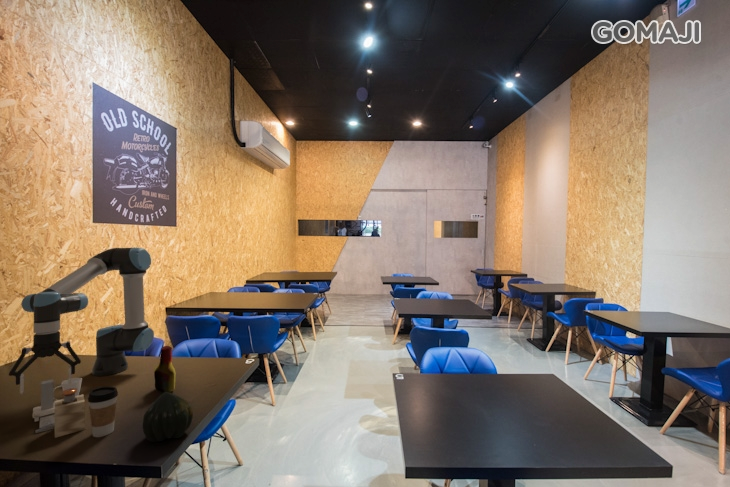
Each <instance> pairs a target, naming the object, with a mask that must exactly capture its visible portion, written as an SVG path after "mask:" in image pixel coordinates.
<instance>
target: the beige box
mask: <svg viewBox="0 0 730 487" xmlns="http://www.w3.org/2000/svg"><path fill="white" fill-rule="evenodd" d="M84 396H85V395H84V394H83V393H82V394H79V395H78V396H75V402H72V403H68V404H64V398H62V399H58V400H54V403H55V428H54V439H56V438H59V437H63V436H66V435H69V434H70V435H71V434H73V433H77V432H80V431H83V430H84V431H85V430H86V405H85V404H86V403H85V402H86V401H85V397H84Z"/></svg>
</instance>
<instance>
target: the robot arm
mask: <svg viewBox="0 0 730 487" xmlns="http://www.w3.org/2000/svg"><path fill="white" fill-rule="evenodd" d="M151 265H152V257H151V254H150V253H149V252H148V250H146V249H145V248H142V247H113V248H112V247H111V248H108V249H106V250H103V251H101V252H99V253H97V254H95V255H93V256H92V257H90V258H89V259H87V261H86V263H85V264H83V265H81V266H80V267H78V268H77V269H75V270H74V271H73V272H70V273H69V274H68V275H66V276H64V277H63V278H61V279H60V280H58V281H56V282H55V283H53V284H52V285H50V286H49V287H47V288H45V289H44V290H43V291H40V292H37V293H30V294H27V295H25V296H24V297H23V299H22V300H21V308H22V309H23V311H25V312H27V313H33V333H34V335H33V342H32V344H33V345H32V347H22V349H21V351H20V352H21V353H20V356H19V357H18V358H17V360H16V361H15V363H14V365H13V366H12V368H10V371H9V372H8V376H9V377H13V376H14V378H15V385H16V386H18V385H19V394H20V395H23V394H24V372H25V371H26V370H27V369H28V368H29V367H30V366H31V365H32V364H33V363H34V362H35V361H36V360H37V359H38V358H43V359H44V358H47V357H48V358H49V357H53V356H56V357H58V358H60V359H61V360H63V362H65V363H67V365H68V379H67V380H68V382H69V384H71V378H72V375H75V373H76V365H79V364H81V363H82V360H81V359H80V357H79V356H78V354H77V353H76V352H75V350H74V349H73V347H72V346H71V341H68V340H67V341H65V342H63V343H61V331H60V329H61V315H64V314H69V313H74V312H76V313H77V312H79V311H82V310H84V309H86V307H88V304H89V299H88V296H87V295H86V294H85V293H83V292H76V291H78V290H80V289H81V288H82V287H83V286H85V285H87V283H89V282H91V281H92V280H93V279H95V278H96V277H98V276H101V275H105V274H106V273H108V272H112V271H118V272H119V276H121V277H122V279H123V281H122V282H123V306H124V308H123V309H124V323H123V324H117V325H116V324H115V325H109V326H105V327H102V328H99V329H98V330H97V331H96V336H95V348H96V349H95V350H96V351H95V352H96V357H95V358H96V359H95V361H94V363H93V367H92V370H91V371H92V372H91V374H92V375H93V376H96V377H98V376H99V377H100V376H101V377H102V376H104V377H105V376H110V375H115V374H119V373H121V372H124V371H126V370H127V369H128V368H129V363H128V360H127V358H126V355H125V352H136V353H137V352H143V351H145V350H147V349H149V347H151V345H152V344H153V341H154V337H155V331H154V330H153V329H152V328H151V327H149V323H148V322H147V321H146V318H145V296H144V295H145V292H144V291H145V290H144V276H145V275H146V274H147V270H148V269H150V268H151ZM74 292H75V293H74ZM62 347H63V348H64V349H67V351H68V353H69V354H70V355H71V357H72V358H73V359H74V361H73V360H72V359H71V358H70V357H68V356H67V355H65V354H64V353H62V351H60V349H61V348H62ZM30 352H32V353H33V355H32V356H31V357H30V358H29V360H27V362H25V363H24V364H23V365H22V366H21V368H19V366H20V365H21V363H22V362H23V360H24V358H25V356H26V355H29V353H30ZM18 368H19V369H18ZM17 369H18V370H17Z"/></svg>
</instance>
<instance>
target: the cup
mask: <svg viewBox="0 0 730 487" xmlns="http://www.w3.org/2000/svg"><path fill="white" fill-rule="evenodd" d="M82 382H83V378H82V377H71V384H69V382H68V379H64V380H62V381H61V384H60V385H58V386H55V387H53V390H54V391H55V390H57V389H58V388H62V392H63V391H64V390H67V389H71V388H76V389H77V392H76V393H75V396H78V395H80V391H81V387H82ZM57 400H59V399H57V398H55V397H54V401H57Z"/></svg>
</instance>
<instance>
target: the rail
mask: <svg viewBox="0 0 730 487" xmlns="http://www.w3.org/2000/svg"><path fill="white" fill-rule="evenodd" d="M53 429H54V430H55V413H52V414H48V415H44V416H40V417H39V427H38V429H35V434H38V433H42V432H45V431H49V430H53Z"/></svg>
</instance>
